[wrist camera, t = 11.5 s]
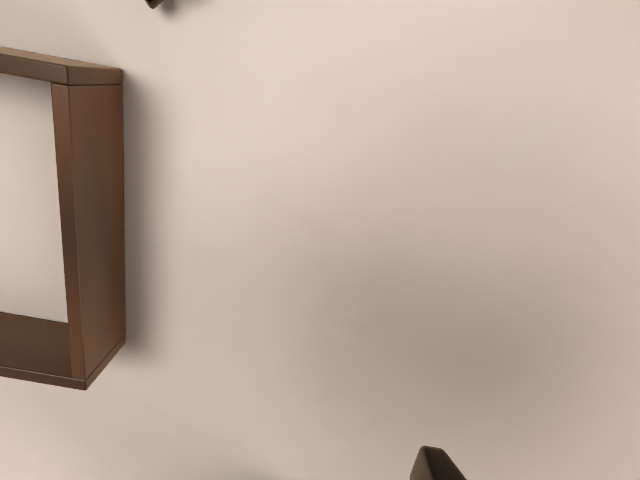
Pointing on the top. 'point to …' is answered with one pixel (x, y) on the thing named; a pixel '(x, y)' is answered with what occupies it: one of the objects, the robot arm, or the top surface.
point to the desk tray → (77, 227)
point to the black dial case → (153, 3)
